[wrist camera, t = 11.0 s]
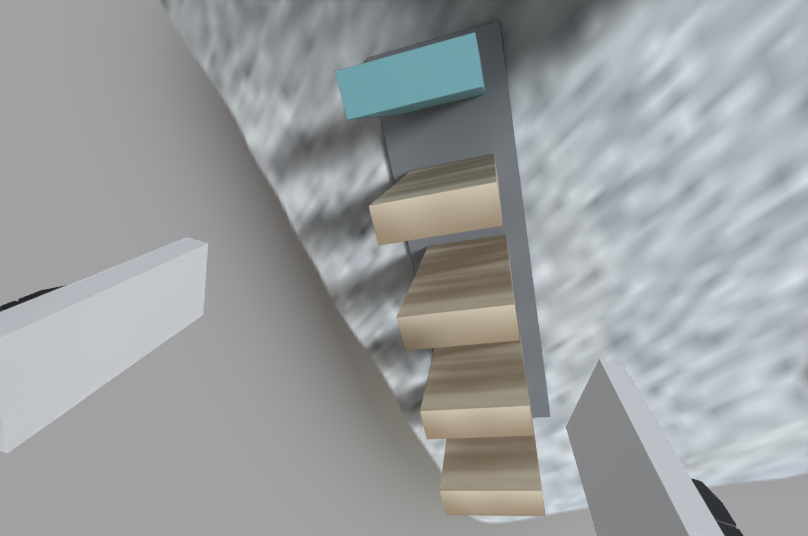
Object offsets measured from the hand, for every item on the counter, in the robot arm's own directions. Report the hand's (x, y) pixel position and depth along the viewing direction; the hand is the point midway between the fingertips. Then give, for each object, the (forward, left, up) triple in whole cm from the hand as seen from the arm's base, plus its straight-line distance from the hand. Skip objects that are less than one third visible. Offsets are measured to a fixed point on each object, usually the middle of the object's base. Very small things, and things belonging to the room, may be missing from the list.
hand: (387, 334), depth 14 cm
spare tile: (-8, +1, -19) cm, 21 cm away
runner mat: (+4, +1, -20) cm, 20 cm away
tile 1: (+16, +1, -19) cm, 25 cm away
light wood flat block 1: (-2, +1, -19) cm, 19 cm away
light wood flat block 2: (+10, +1, -19) cm, 22 cm away
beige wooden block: (+4, +1, -19) cm, 20 cm away
